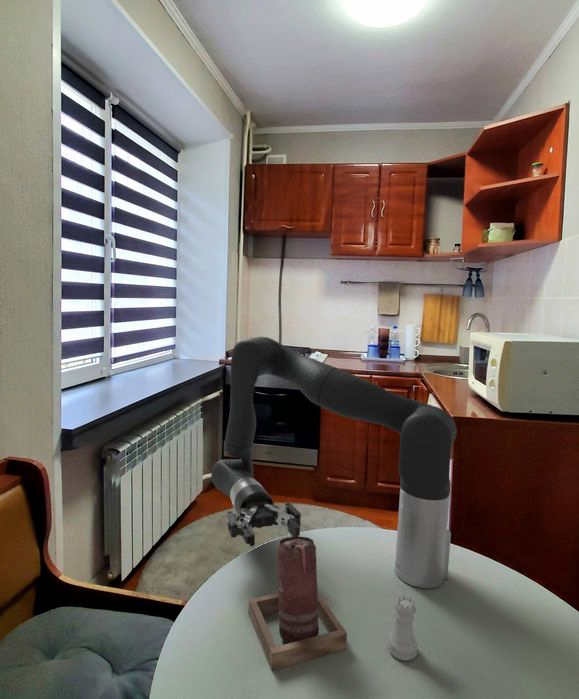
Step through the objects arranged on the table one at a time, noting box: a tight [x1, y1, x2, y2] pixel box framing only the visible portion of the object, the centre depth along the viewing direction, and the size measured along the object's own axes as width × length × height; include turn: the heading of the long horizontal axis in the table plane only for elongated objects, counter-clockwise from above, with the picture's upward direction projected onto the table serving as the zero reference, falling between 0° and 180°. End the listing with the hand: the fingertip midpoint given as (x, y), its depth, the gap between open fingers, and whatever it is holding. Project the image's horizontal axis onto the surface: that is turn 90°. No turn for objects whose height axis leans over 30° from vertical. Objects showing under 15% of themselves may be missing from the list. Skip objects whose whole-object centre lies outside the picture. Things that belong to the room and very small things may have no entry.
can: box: [276, 536, 320, 644], centre depth 66 cm, size 6×6×14 cm
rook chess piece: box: [386, 595, 418, 662], centre depth 64 cm, size 4×4×8 cm
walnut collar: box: [247, 589, 348, 671], centre depth 67 cm, size 12×12×2 cm
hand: (275, 537), depth 77 cm, fingers open, 8 cm apart
